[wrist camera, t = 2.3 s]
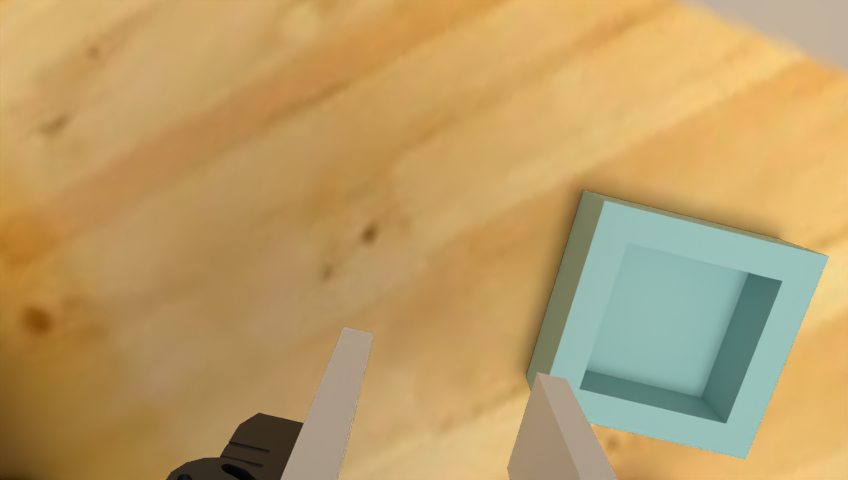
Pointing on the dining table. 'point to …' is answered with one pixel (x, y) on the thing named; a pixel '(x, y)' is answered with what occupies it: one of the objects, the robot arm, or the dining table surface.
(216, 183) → the dining table surface
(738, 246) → the socket block
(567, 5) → the dining table surface
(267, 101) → the dining table surface
